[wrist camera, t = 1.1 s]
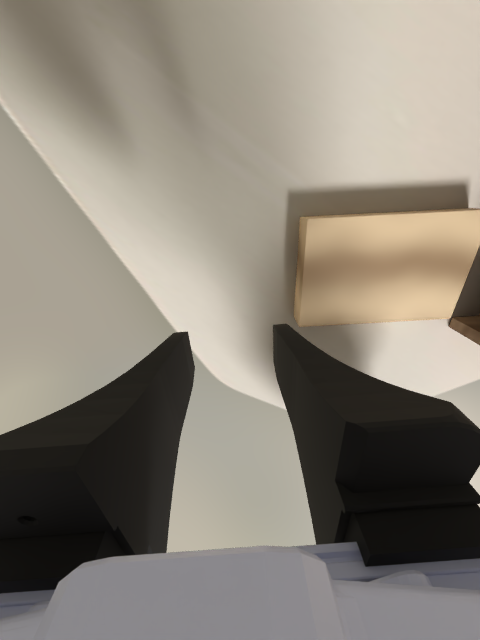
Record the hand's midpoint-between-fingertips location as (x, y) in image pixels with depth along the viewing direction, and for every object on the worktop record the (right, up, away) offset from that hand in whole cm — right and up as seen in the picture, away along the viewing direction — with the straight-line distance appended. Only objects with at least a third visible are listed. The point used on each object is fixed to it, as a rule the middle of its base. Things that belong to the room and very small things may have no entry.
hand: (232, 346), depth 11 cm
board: (+12, +6, +10) cm, 16 cm away
